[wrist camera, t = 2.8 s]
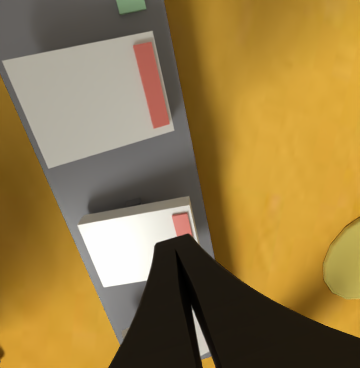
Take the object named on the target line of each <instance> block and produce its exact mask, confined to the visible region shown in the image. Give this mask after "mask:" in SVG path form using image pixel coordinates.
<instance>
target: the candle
mask: <svg viewBox="0 0 360 368" xmlns="http://www.w3.org/2000/svg"><path fill="white" fill-rule="evenodd" d="M323 279H324V281H325V283H326V284H327V286H328V287H329V289H330V290H331V292H332V293H334V294H336V295H339V296H341V297H343V298H345V299H360V217H359V218H358V219H356V220H355V221H353V222H352V223H350V224H349V225H348V226H346V227H345V228H344V229H343V230H342V232H341V233H340V234H339V235H338V236H337V238H336V239H335V240H334V241H333V242H332V244H331V245H330V247H329V250H328V252H327V255H326V257H325V260H324V262H323Z"/></svg>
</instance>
